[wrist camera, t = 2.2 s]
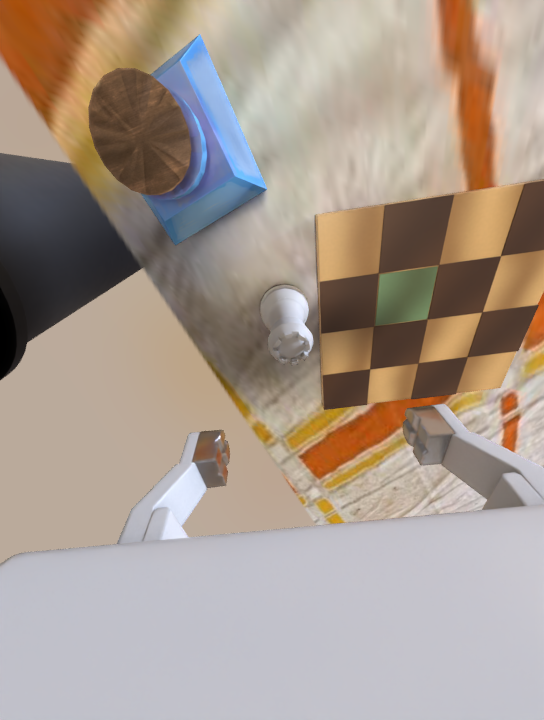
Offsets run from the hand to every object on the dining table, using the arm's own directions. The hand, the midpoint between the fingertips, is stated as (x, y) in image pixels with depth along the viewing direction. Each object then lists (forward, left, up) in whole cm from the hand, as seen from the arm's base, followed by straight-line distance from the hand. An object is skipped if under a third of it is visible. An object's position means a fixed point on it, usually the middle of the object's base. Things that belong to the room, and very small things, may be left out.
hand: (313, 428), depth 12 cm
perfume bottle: (-5, +11, -15) cm, 19 cm away
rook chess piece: (0, 0, -15) cm, 15 cm away
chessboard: (+13, -3, -15) cm, 20 cm away
